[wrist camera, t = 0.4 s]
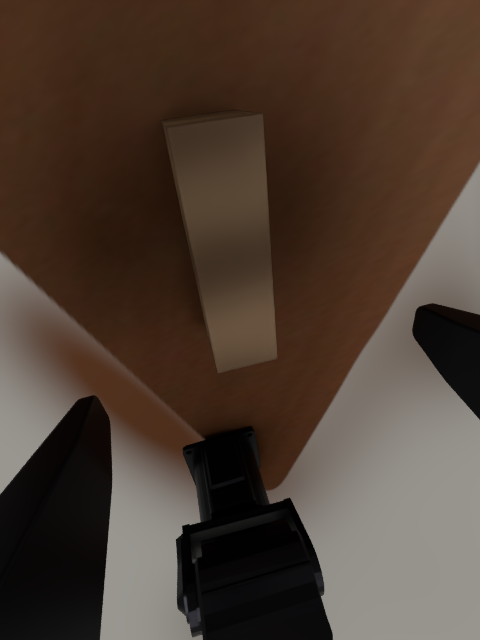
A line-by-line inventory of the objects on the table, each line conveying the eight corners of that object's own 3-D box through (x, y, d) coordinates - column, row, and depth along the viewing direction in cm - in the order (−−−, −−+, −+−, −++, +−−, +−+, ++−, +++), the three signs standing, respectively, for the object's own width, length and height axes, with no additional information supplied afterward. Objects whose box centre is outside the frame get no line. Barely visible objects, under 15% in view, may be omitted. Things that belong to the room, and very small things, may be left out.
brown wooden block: (254, 312, 23) (277, 358, 19) (204, 323, 22) (217, 373, 18) (233, 109, 16) (262, 113, 12) (161, 120, 15) (166, 127, 11)
